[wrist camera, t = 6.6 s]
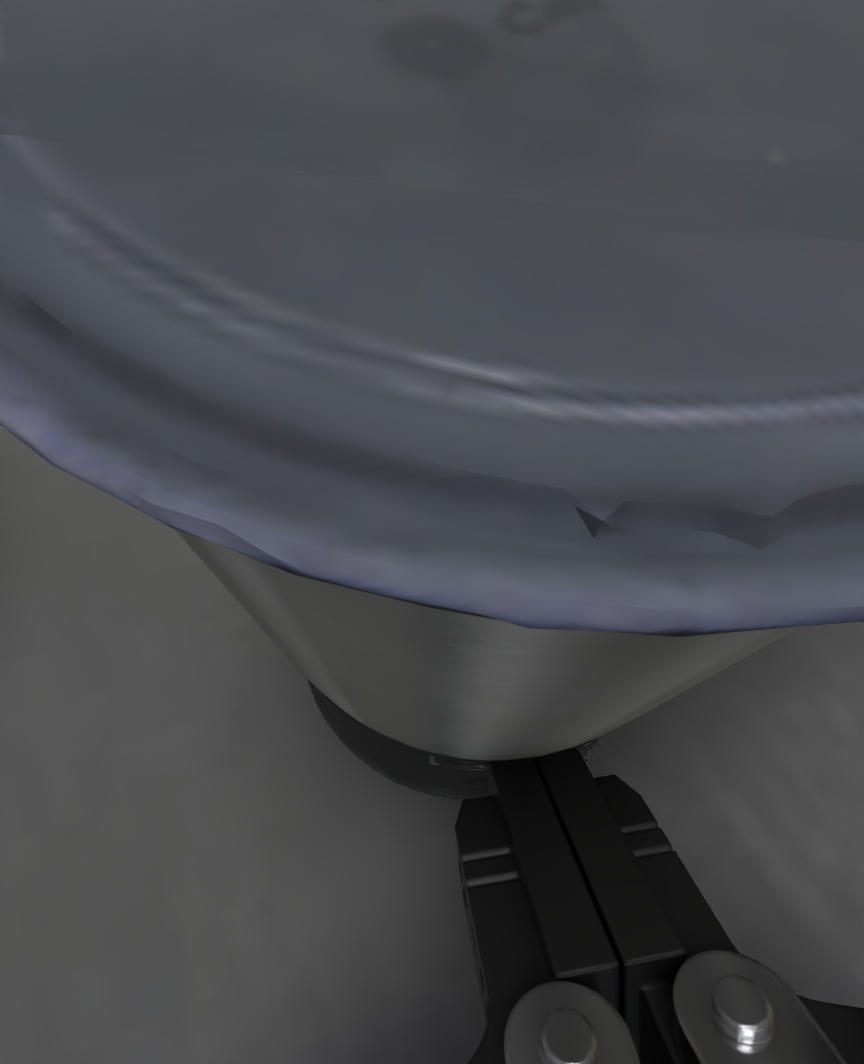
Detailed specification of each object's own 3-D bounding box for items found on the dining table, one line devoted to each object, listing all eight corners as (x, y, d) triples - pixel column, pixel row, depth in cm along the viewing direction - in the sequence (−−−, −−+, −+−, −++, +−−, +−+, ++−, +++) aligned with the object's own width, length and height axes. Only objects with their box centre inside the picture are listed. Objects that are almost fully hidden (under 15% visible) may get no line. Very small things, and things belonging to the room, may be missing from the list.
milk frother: (394, 882, 14) (20, 1624, 1) (168, 414, 20) (-323, -386, 7) (821, 598, 18) (2054, -109, 4) (519, 268, 24) (647, -462, 10)
